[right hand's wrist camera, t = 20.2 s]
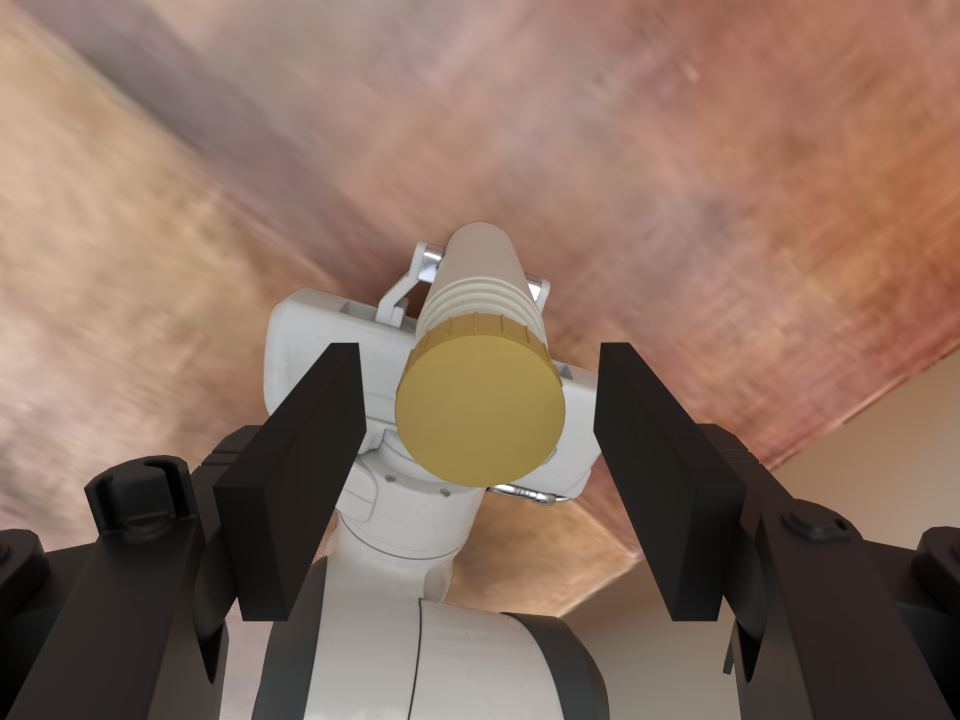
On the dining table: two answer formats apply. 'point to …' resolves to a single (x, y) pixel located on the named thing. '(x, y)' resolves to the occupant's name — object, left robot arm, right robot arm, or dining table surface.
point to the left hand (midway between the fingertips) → (484, 261)
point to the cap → (480, 401)
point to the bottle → (480, 281)
